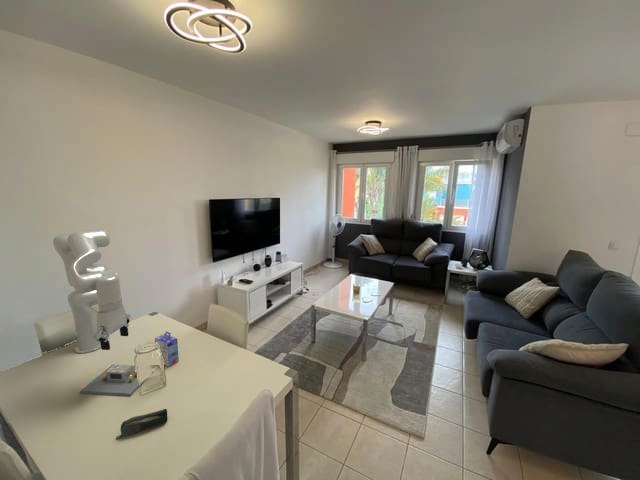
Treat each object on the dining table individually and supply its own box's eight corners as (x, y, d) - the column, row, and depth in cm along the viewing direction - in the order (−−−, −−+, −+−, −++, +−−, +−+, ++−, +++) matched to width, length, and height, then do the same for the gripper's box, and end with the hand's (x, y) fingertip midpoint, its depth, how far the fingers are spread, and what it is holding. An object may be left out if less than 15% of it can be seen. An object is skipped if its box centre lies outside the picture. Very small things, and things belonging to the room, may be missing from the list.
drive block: (116, 373, 115) (115, 364, 114) (133, 374, 115) (132, 365, 114) (107, 381, 111) (106, 371, 110) (125, 382, 110) (124, 372, 109)
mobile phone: (167, 406, 95) (115, 421, 88) (166, 412, 93) (114, 428, 85) (167, 417, 96) (117, 433, 89) (167, 424, 93) (115, 441, 86)
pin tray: (113, 366, 121) (111, 358, 120) (156, 369, 120) (156, 361, 120) (80, 393, 106) (79, 384, 105) (130, 396, 105) (129, 387, 104)
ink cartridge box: (179, 360, 127) (177, 333, 124) (169, 367, 122) (166, 339, 119) (166, 354, 131) (164, 328, 128) (155, 360, 126) (153, 333, 123)
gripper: (118, 295, 115) (123, 330, 118) (81, 314, 98) (88, 354, 101) (135, 296, 114) (139, 331, 118) (101, 315, 97) (107, 356, 101)
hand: (115, 342), depth 110 cm, fingers open, 9 cm apart
